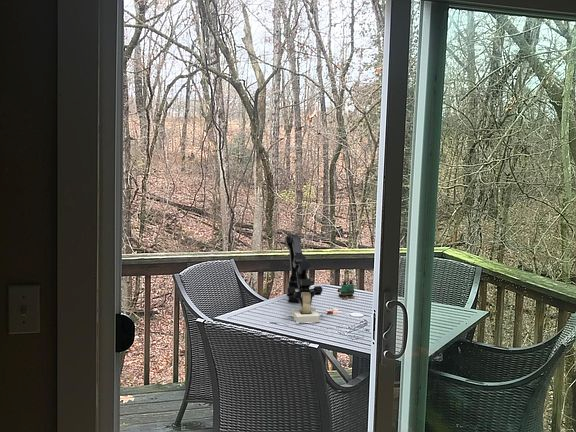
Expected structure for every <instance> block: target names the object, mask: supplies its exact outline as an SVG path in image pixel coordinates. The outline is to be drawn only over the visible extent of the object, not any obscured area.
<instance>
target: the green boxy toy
mask: <svg viewBox="0 0 576 432" xmlns="http://www.w3.org/2000/svg"><path fill="white" fill-rule="evenodd" d="M353 281H354V280H353V279H350V280H349V281H348V282H349V283H348V284H347V281H344V280H343V281H342V284H341V286H340V287H341V288H338V289H337V293H338V297H341V298H342V300H347V299H348V297H349V299H354V297H355V296H354V294H355V285H354V284H355V283H354V282H353Z"/></svg>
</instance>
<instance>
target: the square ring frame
mask: <svg viewBox="0 0 576 432" xmlns="http://www.w3.org/2000/svg"><path fill="white" fill-rule="evenodd" d="M292 315H293V317H294V319H295V320H296V322H319V323H320V314H319V313H318V311H317V309H316V308H315V307H310V314H302V315H301V308H292V309H291V316H292ZM293 317H292V318H293ZM294 319H293V320H294ZM295 320H294V321H295ZM296 322H295V323H296Z"/></svg>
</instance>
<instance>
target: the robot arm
mask: <svg viewBox="0 0 576 432" xmlns="http://www.w3.org/2000/svg"><path fill="white" fill-rule="evenodd" d="M284 243H285V246H286V248H287V249H288V252H289V254H288V255H289V263H290V264H289V266H290V276H289V278H288V281H287V285H286V292H285V295H286V297H288V301H287V302H288V303H293V304H294V303H296V304H299V305H301V306H303V302H302V292H309V293H310V294H311V303H312V302H313V298H314V297H315V296H321V295H322V292H323V287H322V286H321V285H316V286H315V285H314V284H315V279H314V277H309V278H308V274H309V271H310V269H311V264H310V262H308V259H307V258H306V255H304V254H303V251H302V246H301V243H302V242H301V236H300V235H298V234H286V236H284ZM312 285H314V286H313V288H311V286H312Z"/></svg>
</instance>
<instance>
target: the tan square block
mask: <svg viewBox="0 0 576 432" xmlns="http://www.w3.org/2000/svg"><path fill="white" fill-rule="evenodd" d="M301 298H302V302H303V306H301V307H300V309H301V315H302V314H310V308H311V306H312V302H311V294H310V293H309V292H302V293H301Z"/></svg>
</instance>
